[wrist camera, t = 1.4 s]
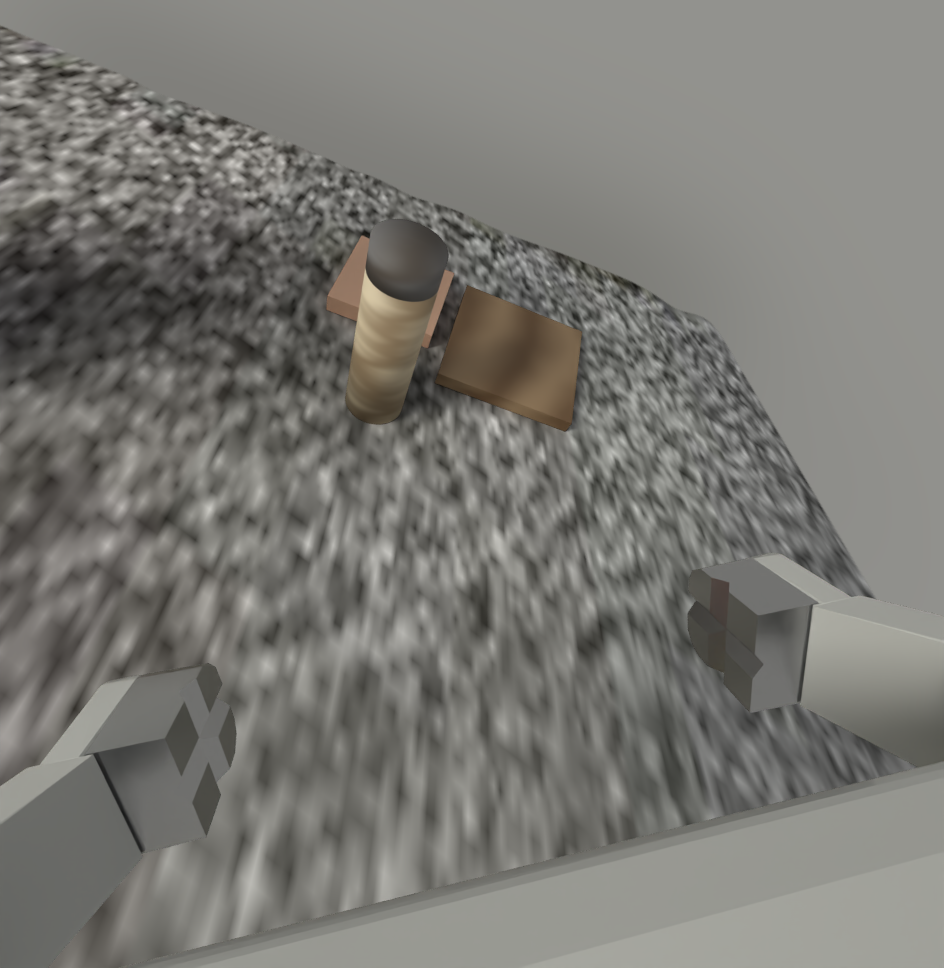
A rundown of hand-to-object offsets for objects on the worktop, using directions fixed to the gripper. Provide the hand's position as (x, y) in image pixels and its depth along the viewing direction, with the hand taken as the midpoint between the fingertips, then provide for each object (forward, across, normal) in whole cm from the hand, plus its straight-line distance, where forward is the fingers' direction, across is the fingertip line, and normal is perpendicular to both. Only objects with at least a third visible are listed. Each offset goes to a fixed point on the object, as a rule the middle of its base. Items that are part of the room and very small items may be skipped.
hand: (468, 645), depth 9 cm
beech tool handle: (+33, +3, +1) cm, 33 cm away
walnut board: (+40, -10, 0) cm, 41 cm away
